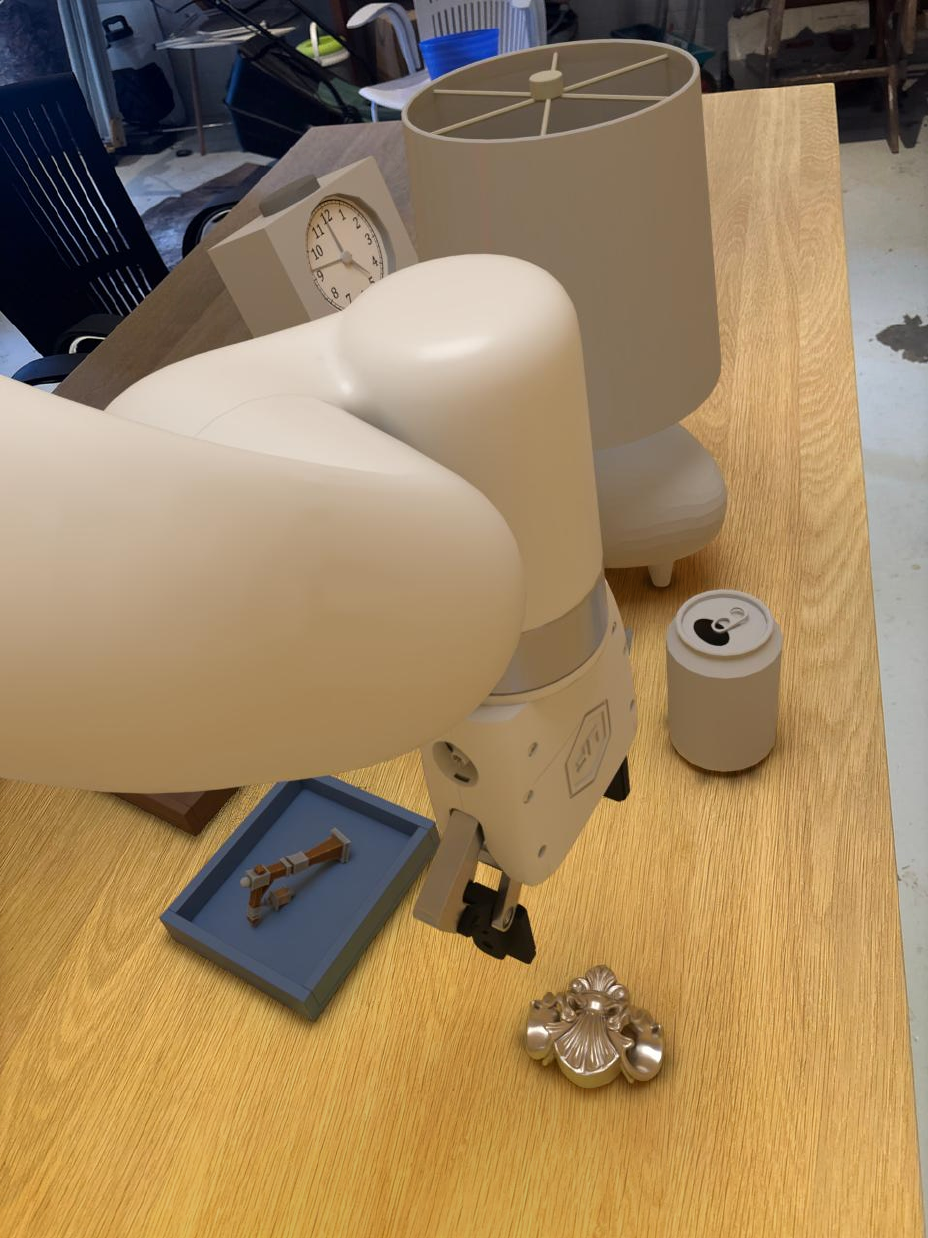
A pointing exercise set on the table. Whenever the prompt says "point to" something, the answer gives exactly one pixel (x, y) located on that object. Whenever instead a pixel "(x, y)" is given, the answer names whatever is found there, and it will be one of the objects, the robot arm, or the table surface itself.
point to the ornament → (595, 1032)
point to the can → (723, 679)
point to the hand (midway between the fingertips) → (554, 863)
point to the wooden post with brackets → (294, 864)
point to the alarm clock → (314, 248)
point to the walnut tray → (182, 806)
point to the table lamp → (596, 252)
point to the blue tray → (304, 889)
